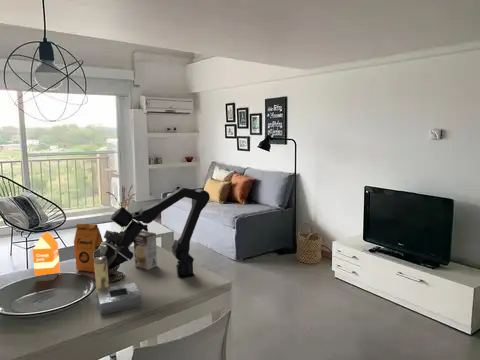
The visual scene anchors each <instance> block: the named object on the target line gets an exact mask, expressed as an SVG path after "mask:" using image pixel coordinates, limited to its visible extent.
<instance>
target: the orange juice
mask: <svg viewBox="0 0 480 360" xmlns="http://www.w3.org/2000/svg"><path fill="white" fill-rule="evenodd" d="M58 245H59V244H58V241H57V240H56V239H55V238H54V236H52V234H51V233H50V232H49V231H46V232H45V233H43V234H42V235H41V236H40V238H39V240H38V241H37V243H36V244H35V246H34V247H33V249H32V257H33V259H32V260H33V269H34V275H35V276H39V275H46V274H54V273H59V272H60V273H61V267H60V255H59V246H58ZM35 276H34V277H35Z"/></svg>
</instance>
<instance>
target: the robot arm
mask: <svg viewBox="0 0 480 360" xmlns="http://www.w3.org/2000/svg"><path fill="white" fill-rule="evenodd" d="M184 198H188V199H191V208H190V210H189V213H188V216H187V219H186V221H185V224H184V227H183V229H182V231H181V234H180V237H179V238H178V240H177V239H174V241H173V245H171V249H172V250H171V252H172V255H173V256H174V257H175V259H177V264H176V265H175V270H176V275H177V276H178V278H180V279H183V278H190V277H193V276H195V273H194V263H193V262H194V260H195V259H194V257H193V256H192V255H191V254H190V253H189V252H190V248H191V247H190V246H191V239H192V237H193V234H194V232H195V229H196V226H197V223H198V220H199V218H200V216H201V213H202V211H203V209H205V207H206V206H207V205H208V203H209V202H210V199H211V196H210V193H209V192H208V191H206V190H205V189H202V188H198V189H197V188H196V189H193V188H188V187H185V186H180V187H179V188H178V189H177V190H175V191H173V192H172V193H170V194H169V195H167V196H165V197H164V198H162V199H161V200H159V201H157V202H155V203H153V204H150V205H147V206H144V207H142V208H140V209H139V210H137V211H133V212H130V211H129V210H127V209H126V207H124V206H121V207H120V208H118V209H117V210H115V211H114V212H113V214H112V216H111V217H110V220H111V221H113V222H114V223H115V224H117V225H118V226H119V227H121V228H123V227H124V228H125V229H124V230H123V231H122V230H121V231H120V232H118V231H115V230H114V231H112V230H107V229H106V231H105V232H104V236H103V239H105V245H104V246H105V250H104V252H105V254H104V256H105V257H107V261H108V260H110V259H111V258H112V257H113V259H112V260H111V262H110V263H109V264H108V266H107V267H108V270H109V271H110V270H112V269H114V268H115V267H116V268H117V267H118V266H120V265H122V264H124V263H126V262H128V261H129V260H130V261H132V259H133V258H134V253H133V251H131V250H130V246H131V245H132V244H134V243H135V242H136V241H135V239H136V238H137V236H138V235H139V234H140V232H141V231H146V232H149V229H148V227H149V226H148V224H151V223H152V222H154V220H156V218H158V216H159V215H160V214H161V213H162V212H164V211H165V210H167V209H169V208H170V207H172V206H173V205H174V204H176V203H178V202H179V201H181V200H182V199H184ZM116 248H117V249H116Z"/></svg>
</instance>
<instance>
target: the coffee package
mask: <svg viewBox="0 0 480 360" xmlns="http://www.w3.org/2000/svg"><path fill="white" fill-rule="evenodd" d="M75 228H76V229H75V230H76V231H75V235H74V239H73V247H74V254H75V256H74V257H75V265H76V266H75V267H76V268H75V270H76V271H84V272H85V271H86V272H90V273H95V266H94V258H93V253H94V251H96V250H97V249H98V247H99V246H100V244H101V242H103V243H104V241H103V237H102V234H101V231H100V228H99V226H98V224H93V223H76V225H75Z"/></svg>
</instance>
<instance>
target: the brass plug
mask: <svg viewBox="0 0 480 360" xmlns="http://www.w3.org/2000/svg"><path fill="white" fill-rule="evenodd" d="M94 266H95V272H94V276H95V278H94V279H95V290H96V291H95V292H96V295H98V289H100V288H106V287H110V284H109V271H108V270H109V269H108V267H109V266H108V260H107V257H105V256H100V257H96V258H94Z"/></svg>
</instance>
